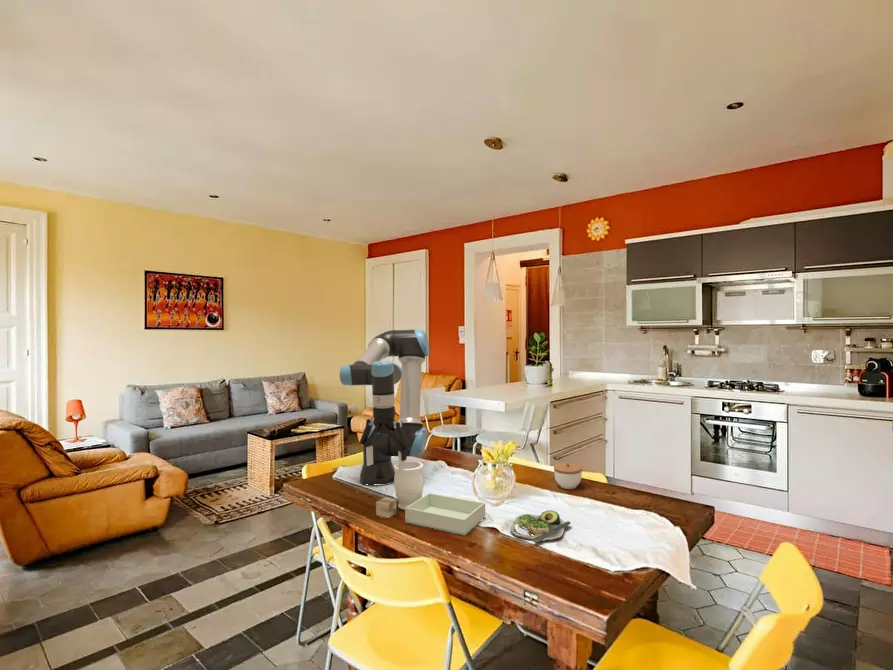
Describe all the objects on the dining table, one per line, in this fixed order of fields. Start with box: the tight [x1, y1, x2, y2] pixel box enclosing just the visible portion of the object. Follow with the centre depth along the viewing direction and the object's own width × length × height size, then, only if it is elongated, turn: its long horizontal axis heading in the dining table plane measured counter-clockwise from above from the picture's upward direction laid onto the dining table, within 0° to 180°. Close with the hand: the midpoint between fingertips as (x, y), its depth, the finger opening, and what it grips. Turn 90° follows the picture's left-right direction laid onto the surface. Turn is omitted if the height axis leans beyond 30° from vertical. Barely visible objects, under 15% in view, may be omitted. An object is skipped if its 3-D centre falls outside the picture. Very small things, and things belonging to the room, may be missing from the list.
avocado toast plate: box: [509, 509, 571, 543], centre depth 154 cm, size 19×18×5 cm
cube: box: [375, 497, 398, 519], centre depth 170 cm, size 5×5×5 cm
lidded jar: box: [553, 462, 583, 490], centre depth 193 cm, size 11×11×9 cm
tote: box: [404, 492, 486, 537], centre depth 164 cm, size 15×22×5 cm
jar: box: [393, 461, 425, 511], centre depth 177 cm, size 11×10×15 cm
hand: (385, 467), depth 170 cm, fingers open, 13 cm apart
